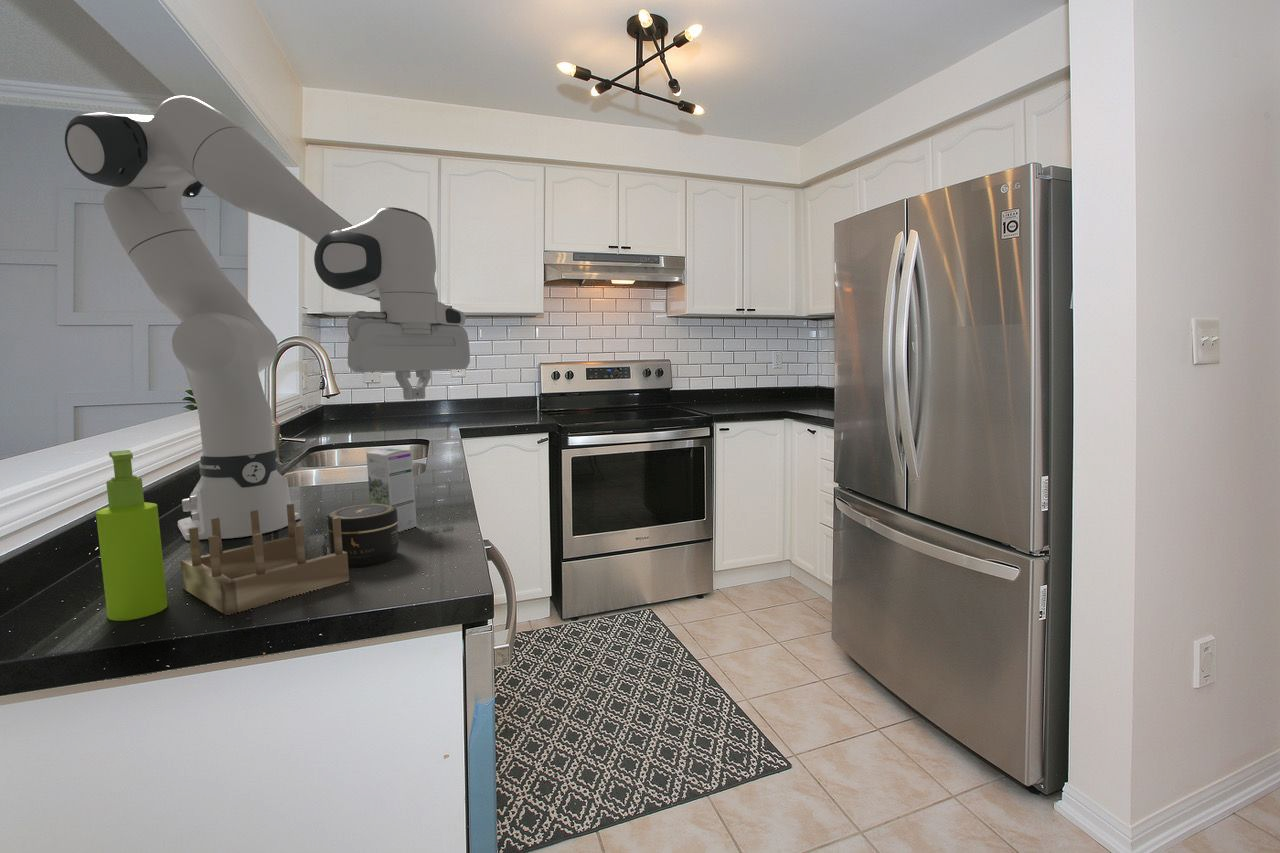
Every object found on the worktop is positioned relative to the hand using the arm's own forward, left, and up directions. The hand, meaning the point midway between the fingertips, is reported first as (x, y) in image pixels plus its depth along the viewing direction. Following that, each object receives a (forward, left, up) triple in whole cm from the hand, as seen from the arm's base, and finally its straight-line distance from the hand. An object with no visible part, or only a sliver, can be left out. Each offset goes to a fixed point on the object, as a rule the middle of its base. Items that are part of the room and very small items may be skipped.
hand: (414, 399), depth 105 cm
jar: (0, -10, -24) cm, 26 cm away
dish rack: (0, -23, -24) cm, 34 cm away
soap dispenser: (-4, -38, -24) cm, 45 cm away
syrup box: (-12, +2, -24) cm, 27 cm away
